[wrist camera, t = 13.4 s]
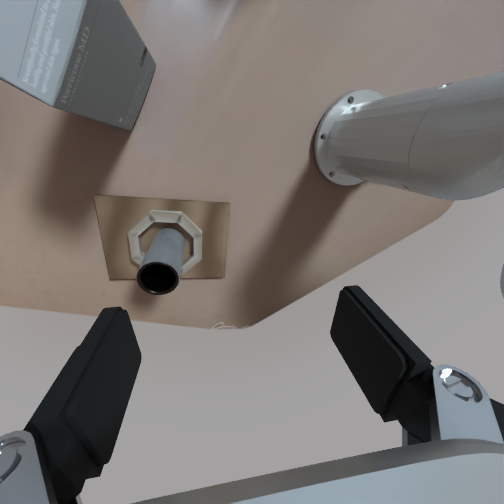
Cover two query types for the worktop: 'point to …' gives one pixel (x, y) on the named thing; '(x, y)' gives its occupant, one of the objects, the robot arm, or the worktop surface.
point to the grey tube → (162, 263)
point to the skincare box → (76, 57)
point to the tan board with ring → (155, 219)
